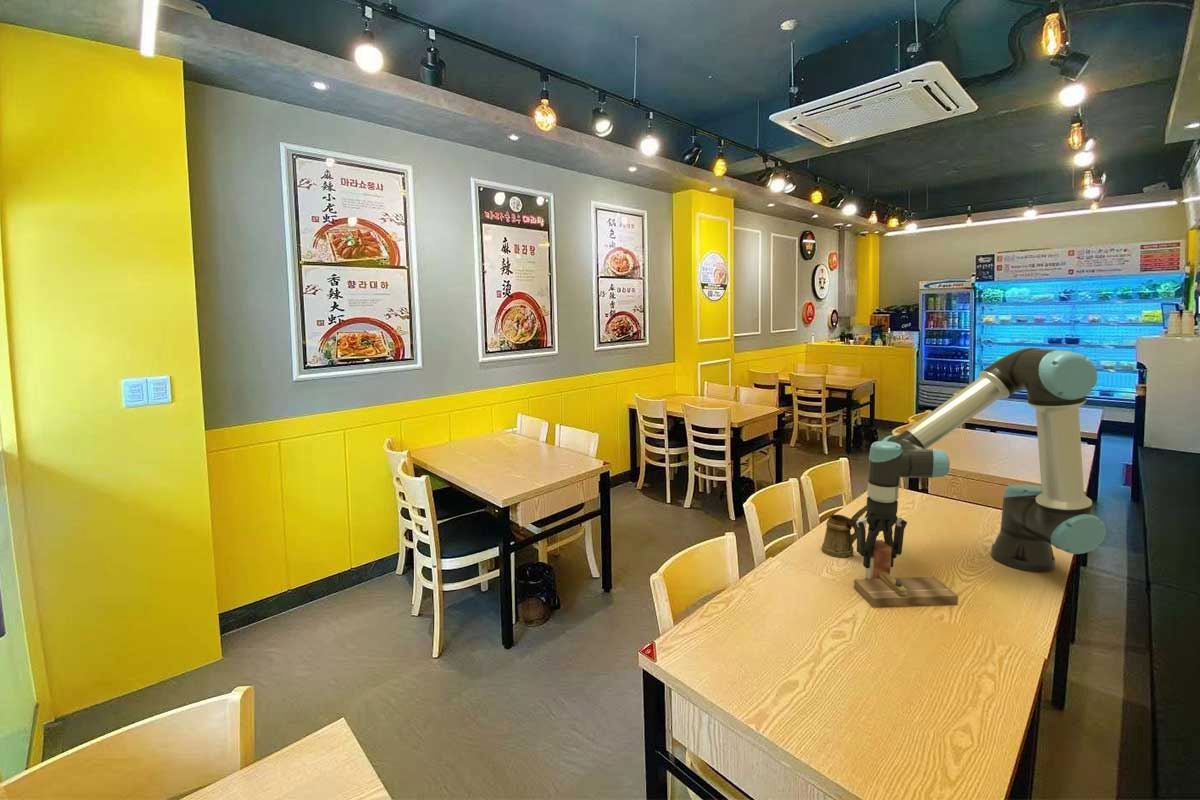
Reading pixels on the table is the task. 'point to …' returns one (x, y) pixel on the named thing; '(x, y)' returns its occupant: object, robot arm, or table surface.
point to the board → (918, 592)
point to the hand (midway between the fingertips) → (877, 577)
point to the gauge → (885, 566)
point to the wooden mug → (841, 534)
